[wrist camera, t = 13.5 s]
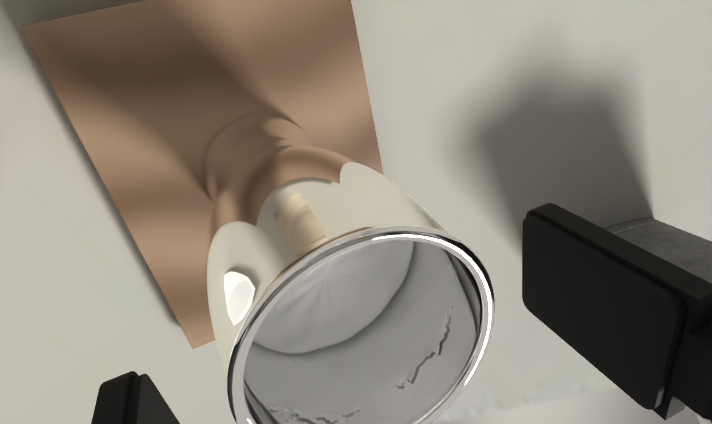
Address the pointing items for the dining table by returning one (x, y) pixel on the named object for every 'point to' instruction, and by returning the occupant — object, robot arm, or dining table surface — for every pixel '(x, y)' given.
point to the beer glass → (333, 286)
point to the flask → (669, 244)
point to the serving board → (198, 108)
